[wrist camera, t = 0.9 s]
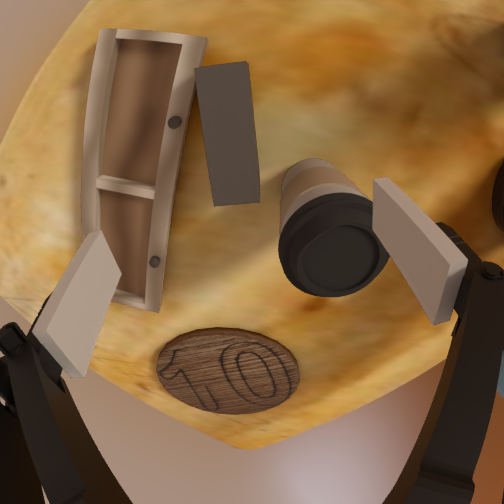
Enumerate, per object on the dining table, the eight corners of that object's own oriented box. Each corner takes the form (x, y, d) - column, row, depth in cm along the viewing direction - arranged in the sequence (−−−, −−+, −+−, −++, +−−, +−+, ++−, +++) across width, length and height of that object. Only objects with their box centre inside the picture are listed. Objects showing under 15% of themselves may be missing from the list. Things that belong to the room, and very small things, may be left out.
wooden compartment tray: (210, 40, 26) (204, 36, 23) (162, 300, 44) (157, 317, 41) (111, 30, 25) (96, 28, 22) (93, 282, 42) (83, 297, 40)
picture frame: (248, 63, 28) (245, 61, 21) (259, 172, 34) (260, 202, 27) (206, 68, 28) (191, 68, 21) (221, 176, 34) (211, 206, 27)
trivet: (196, 412, 62) (195, 419, 61) (132, 340, 50) (129, 348, 48) (311, 394, 58) (312, 402, 56) (276, 309, 45) (277, 318, 43)
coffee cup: (365, 194, 35) (418, 271, 22) (303, 237, 38) (323, 328, 25) (321, 132, 31) (365, 180, 19) (254, 181, 34) (253, 258, 22)
